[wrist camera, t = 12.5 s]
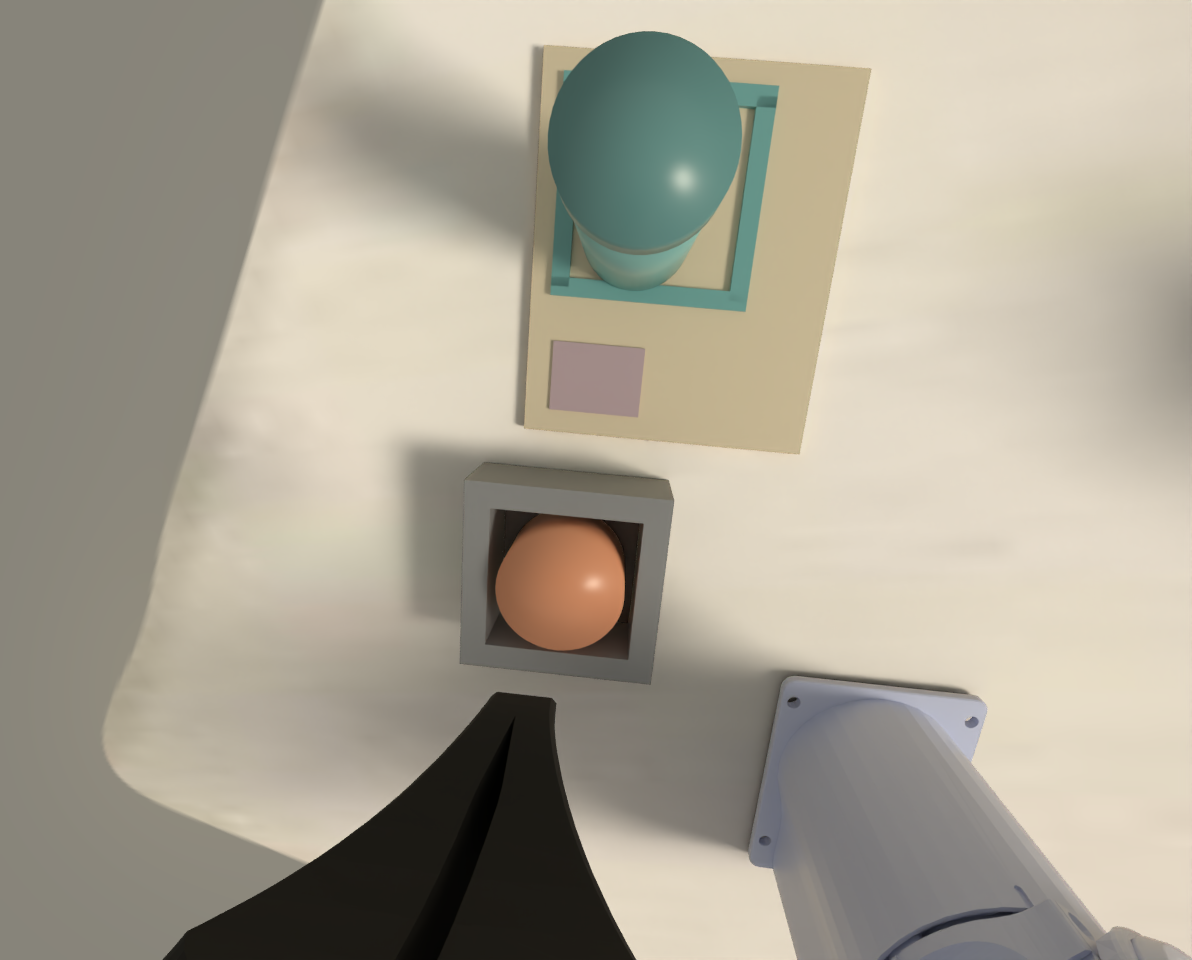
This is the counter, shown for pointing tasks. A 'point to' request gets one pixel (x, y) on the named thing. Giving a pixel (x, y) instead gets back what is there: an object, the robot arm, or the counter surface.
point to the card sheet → (704, 281)
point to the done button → (562, 581)
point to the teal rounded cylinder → (643, 153)
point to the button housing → (563, 494)
